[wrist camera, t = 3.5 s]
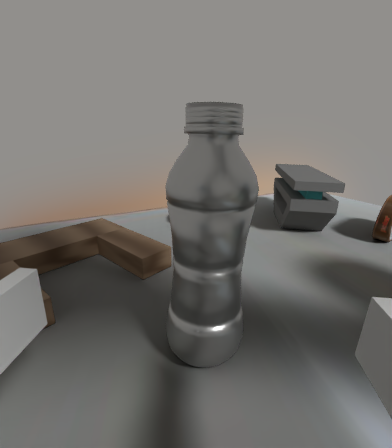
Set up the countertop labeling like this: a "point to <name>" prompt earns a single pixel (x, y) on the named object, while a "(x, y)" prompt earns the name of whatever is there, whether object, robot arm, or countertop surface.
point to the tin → (384, 222)
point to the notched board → (84, 251)
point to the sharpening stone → (304, 197)
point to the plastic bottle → (209, 234)
